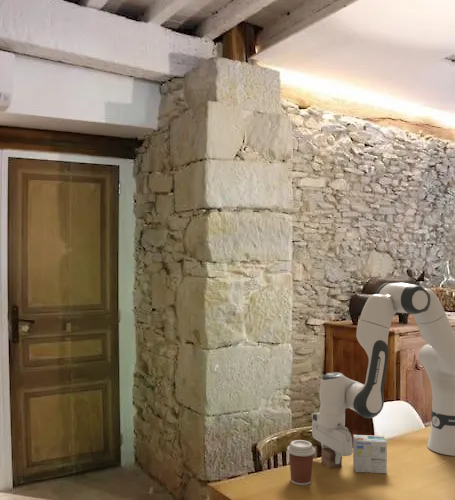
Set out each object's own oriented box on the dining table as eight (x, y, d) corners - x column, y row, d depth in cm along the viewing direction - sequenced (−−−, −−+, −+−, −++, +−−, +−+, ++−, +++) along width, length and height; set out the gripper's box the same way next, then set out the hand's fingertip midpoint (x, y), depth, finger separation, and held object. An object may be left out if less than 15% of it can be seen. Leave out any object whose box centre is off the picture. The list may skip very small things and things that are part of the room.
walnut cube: (333, 460, 187) (333, 446, 187) (341, 466, 183) (341, 451, 183) (321, 462, 185) (321, 448, 185) (329, 468, 181) (329, 453, 181)
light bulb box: (383, 466, 183) (383, 435, 183) (387, 474, 177) (387, 441, 177) (352, 464, 184) (352, 433, 184) (354, 472, 178) (355, 440, 178)
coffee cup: (319, 486, 166) (319, 448, 167) (291, 487, 165) (291, 449, 165) (309, 474, 175) (310, 438, 176) (283, 475, 174) (283, 439, 174)
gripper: (357, 428, 176) (357, 469, 176) (323, 411, 195) (323, 448, 195) (341, 430, 173) (341, 472, 173) (309, 412, 192) (308, 451, 192)
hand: (331, 459), depth 184 cm, fingers closed on walnut cube, 5 cm apart
